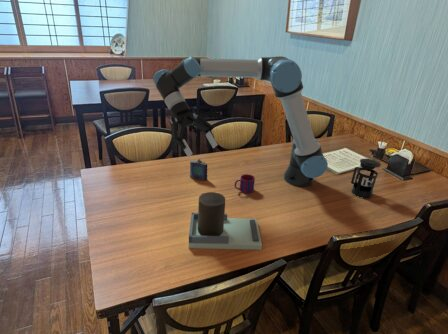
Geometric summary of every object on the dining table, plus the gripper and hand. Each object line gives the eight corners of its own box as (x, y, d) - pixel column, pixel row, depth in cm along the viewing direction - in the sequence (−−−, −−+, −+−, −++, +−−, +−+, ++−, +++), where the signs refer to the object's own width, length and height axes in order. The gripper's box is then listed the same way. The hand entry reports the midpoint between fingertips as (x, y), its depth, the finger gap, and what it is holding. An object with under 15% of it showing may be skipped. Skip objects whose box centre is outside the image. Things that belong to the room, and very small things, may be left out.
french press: (377, 196, 149) (390, 152, 139) (365, 201, 144) (378, 156, 134) (356, 185, 158) (367, 144, 148) (344, 189, 153) (355, 147, 143)
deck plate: (256, 222, 124) (257, 213, 122) (261, 249, 110) (262, 239, 108) (191, 221, 123) (191, 211, 121) (188, 248, 108) (188, 237, 107)
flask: (189, 177, 156) (189, 158, 152) (191, 175, 159) (191, 156, 154) (206, 181, 154) (206, 161, 149) (208, 178, 156) (208, 159, 152)
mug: (255, 192, 146) (257, 179, 143) (236, 195, 143) (237, 182, 140) (250, 185, 152) (251, 173, 149) (231, 188, 149) (232, 175, 146)
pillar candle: (214, 241, 109) (216, 205, 103) (192, 231, 114) (193, 196, 107) (228, 228, 117) (231, 194, 111) (207, 219, 121) (208, 185, 115)
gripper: (196, 105, 134) (220, 147, 132) (148, 116, 118) (174, 164, 115) (204, 95, 129) (229, 138, 126) (155, 105, 112) (183, 155, 110)
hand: (203, 151), depth 121 cm, fingers open, 13 cm apart
